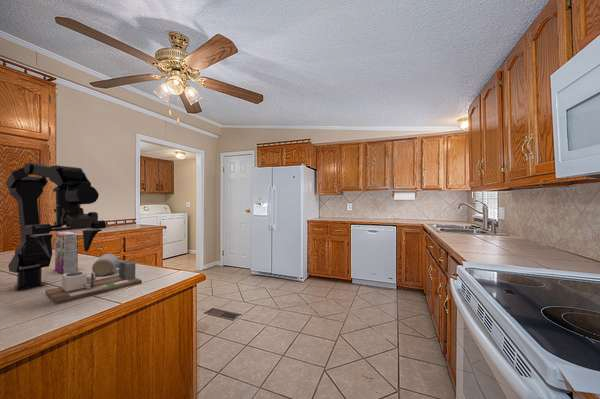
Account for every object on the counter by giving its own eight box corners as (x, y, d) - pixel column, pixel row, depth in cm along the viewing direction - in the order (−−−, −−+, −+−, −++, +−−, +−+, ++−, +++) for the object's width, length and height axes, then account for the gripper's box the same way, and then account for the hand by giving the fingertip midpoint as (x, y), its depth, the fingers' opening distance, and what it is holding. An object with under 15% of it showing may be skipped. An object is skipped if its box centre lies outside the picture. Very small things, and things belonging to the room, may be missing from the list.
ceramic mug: (90, 277, 95) (91, 258, 95) (97, 272, 103) (97, 254, 103) (123, 275, 100) (123, 256, 100) (127, 269, 107) (128, 252, 107)
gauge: (61, 287, 81) (61, 273, 81) (92, 281, 87) (92, 268, 87) (69, 294, 75) (69, 279, 75) (101, 287, 82) (101, 273, 82)
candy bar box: (53, 270, 104) (54, 232, 104) (69, 267, 108) (69, 231, 108) (61, 275, 98) (62, 234, 98) (78, 272, 102) (78, 233, 102)
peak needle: (90, 287, 80) (90, 273, 80) (92, 286, 80) (93, 272, 80) (91, 287, 79) (91, 273, 79) (93, 287, 80) (94, 273, 80)
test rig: (45, 293, 79) (45, 272, 79) (126, 275, 98) (126, 258, 98) (55, 304, 71) (55, 280, 71) (141, 283, 90) (142, 264, 90)
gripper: (42, 204, 66) (43, 262, 65) (116, 204, 83) (117, 249, 83) (21, 206, 70) (22, 260, 69) (96, 205, 87) (96, 248, 87)
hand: (69, 254), depth 77 cm, fingers open, 9 cm apart
